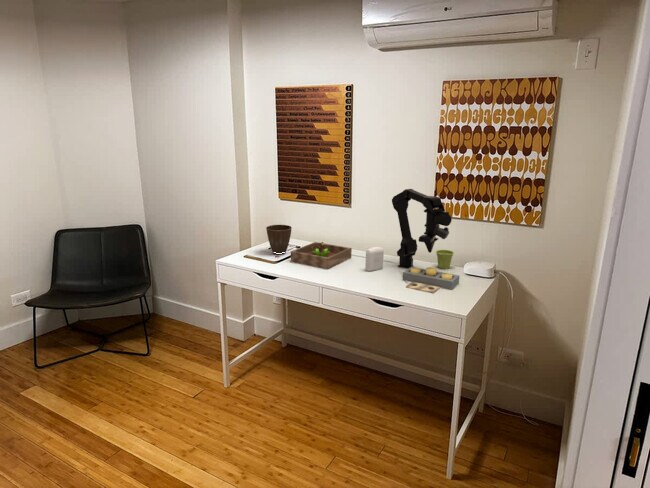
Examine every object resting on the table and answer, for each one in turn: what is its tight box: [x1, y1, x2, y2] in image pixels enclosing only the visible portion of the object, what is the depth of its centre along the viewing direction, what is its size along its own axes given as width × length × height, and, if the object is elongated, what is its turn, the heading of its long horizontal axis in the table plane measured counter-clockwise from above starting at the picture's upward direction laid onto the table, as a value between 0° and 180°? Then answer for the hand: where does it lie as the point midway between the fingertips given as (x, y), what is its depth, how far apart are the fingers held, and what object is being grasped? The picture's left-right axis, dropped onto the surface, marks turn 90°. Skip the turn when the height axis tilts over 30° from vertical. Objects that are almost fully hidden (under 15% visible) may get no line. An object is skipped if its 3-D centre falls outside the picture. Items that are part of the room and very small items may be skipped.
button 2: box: [425, 266, 437, 277], centre depth 224 cm, size 5×5×4 cm
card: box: [405, 282, 440, 294], centre depth 217 cm, size 14×8×1 cm, turn 57°
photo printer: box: [365, 246, 384, 272], centre depth 242 cm, size 10×4×12 cm, turn 123°
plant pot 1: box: [265, 224, 292, 256], centre depth 271 cm, size 15×15×16 cm
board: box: [402, 266, 460, 291], centre depth 225 cm, size 25×11×4 cm, turn 57°
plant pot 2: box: [435, 249, 455, 270], centre depth 247 cm, size 9×9×9 cm
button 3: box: [441, 272, 452, 280], centre depth 221 cm, size 5×5×4 cm
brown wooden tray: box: [290, 241, 352, 270], centre depth 259 cm, size 25×25×6 cm
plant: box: [307, 241, 335, 258], centre depth 259 cm, size 20×20×11 cm
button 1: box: [410, 267, 422, 274], centre depth 229 cm, size 5×5×4 cm
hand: (429, 252), depth 231 cm, fingers closed
